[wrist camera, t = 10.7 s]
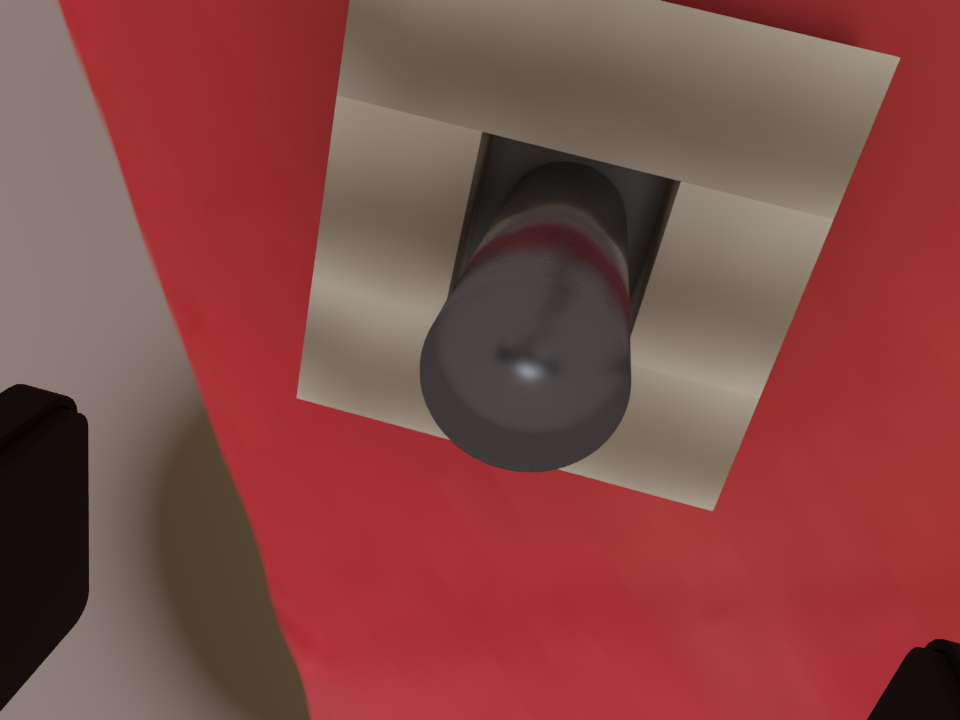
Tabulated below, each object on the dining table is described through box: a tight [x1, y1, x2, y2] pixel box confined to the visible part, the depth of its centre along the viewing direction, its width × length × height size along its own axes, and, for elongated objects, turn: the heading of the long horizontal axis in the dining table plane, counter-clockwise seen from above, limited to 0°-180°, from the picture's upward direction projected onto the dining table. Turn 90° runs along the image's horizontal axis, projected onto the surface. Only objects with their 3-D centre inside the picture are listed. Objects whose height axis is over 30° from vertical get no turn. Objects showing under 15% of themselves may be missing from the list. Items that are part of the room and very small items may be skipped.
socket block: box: [297, 0, 900, 511], centre depth 25 cm, size 14×14×4 cm
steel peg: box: [419, 161, 632, 472], centre depth 21 cm, size 4×4×12 cm
